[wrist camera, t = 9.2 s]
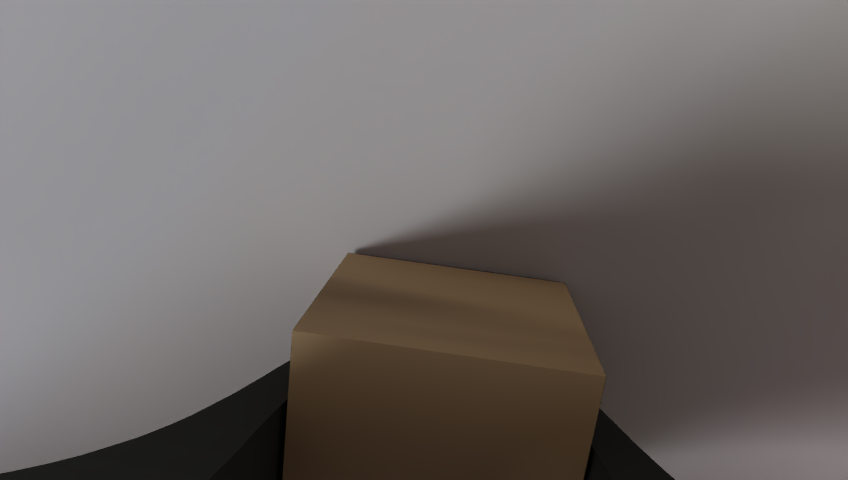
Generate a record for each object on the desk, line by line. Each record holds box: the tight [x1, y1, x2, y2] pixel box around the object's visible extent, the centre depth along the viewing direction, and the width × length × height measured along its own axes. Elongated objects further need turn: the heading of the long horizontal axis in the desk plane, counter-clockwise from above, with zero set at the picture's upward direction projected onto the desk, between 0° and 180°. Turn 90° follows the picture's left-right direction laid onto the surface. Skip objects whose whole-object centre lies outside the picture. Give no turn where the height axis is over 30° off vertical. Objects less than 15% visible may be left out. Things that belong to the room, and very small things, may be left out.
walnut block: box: [282, 253, 606, 480], centre depth 11 cm, size 4×4×4 cm
